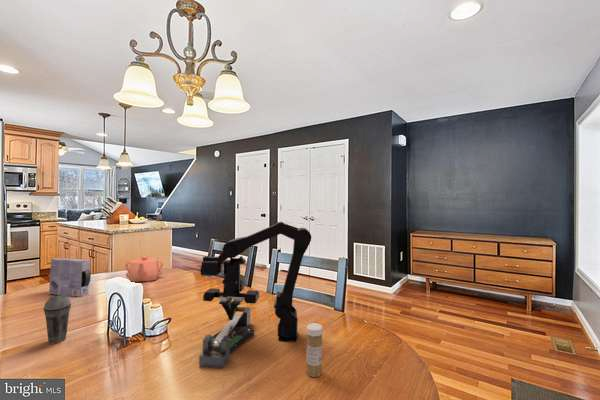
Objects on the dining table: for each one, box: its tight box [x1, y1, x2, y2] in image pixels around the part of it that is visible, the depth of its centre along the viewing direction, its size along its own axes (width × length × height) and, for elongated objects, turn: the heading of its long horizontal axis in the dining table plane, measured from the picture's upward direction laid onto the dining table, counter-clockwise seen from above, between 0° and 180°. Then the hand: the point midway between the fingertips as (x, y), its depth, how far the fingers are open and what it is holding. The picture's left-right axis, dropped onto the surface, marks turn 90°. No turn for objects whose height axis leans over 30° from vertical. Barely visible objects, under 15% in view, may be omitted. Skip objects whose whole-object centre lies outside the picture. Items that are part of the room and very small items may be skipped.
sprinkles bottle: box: [305, 322, 324, 378], centre depth 82 cm, size 5×5×14 cm
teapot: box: [124, 255, 164, 283], centre depth 168 cm, size 20×19×14 cm
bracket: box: [198, 306, 252, 369], centre depth 98 cm, size 7×30×7 cm, turn 175°
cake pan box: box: [48, 257, 92, 298], centre depth 143 cm, size 19×5×18 cm, turn 82°
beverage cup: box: [43, 281, 72, 344], centre depth 98 cm, size 7×7×20 cm
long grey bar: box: [211, 311, 243, 348], centre depth 99 cm, size 3×25×2 cm, turn 175°
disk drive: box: [212, 325, 255, 355], centre depth 99 cm, size 10×3×15 cm
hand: (231, 319), depth 101 cm, fingers closed
